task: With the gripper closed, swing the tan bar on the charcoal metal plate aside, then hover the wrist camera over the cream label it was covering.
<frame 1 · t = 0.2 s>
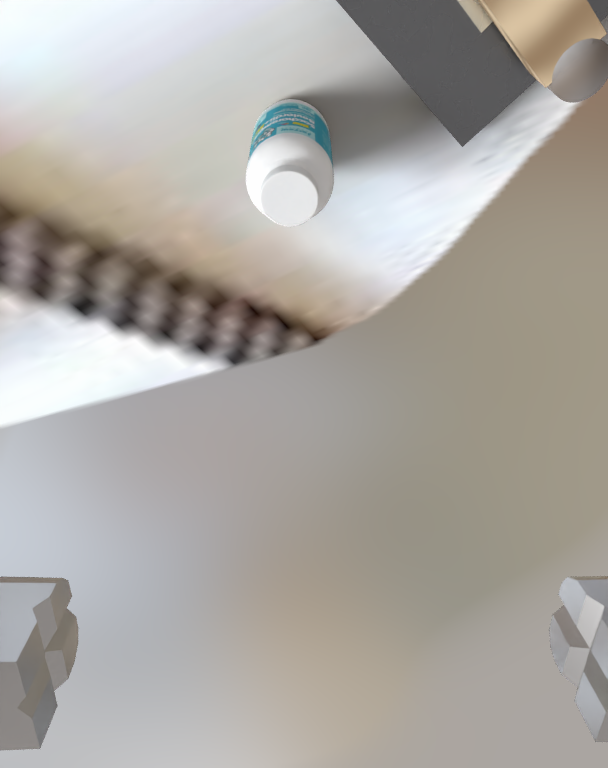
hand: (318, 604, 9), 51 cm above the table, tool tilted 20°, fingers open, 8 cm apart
pill bottle: (291, 137, 54), on the table
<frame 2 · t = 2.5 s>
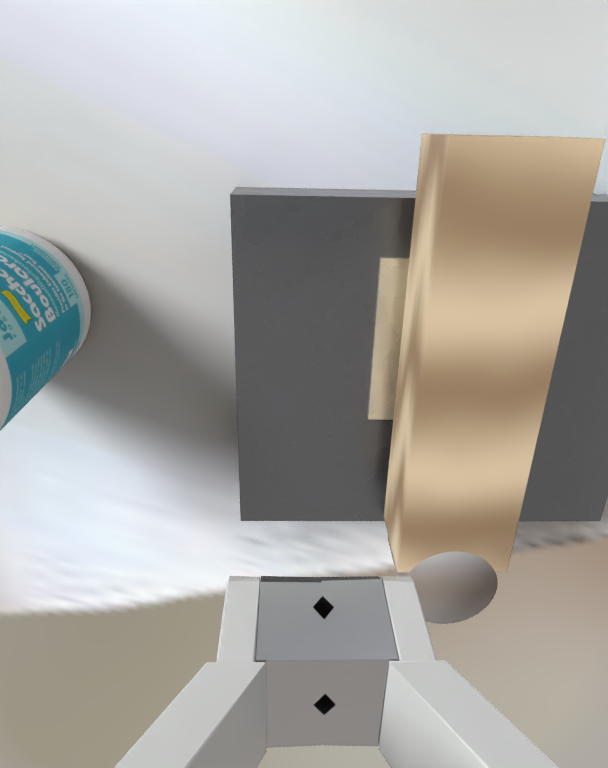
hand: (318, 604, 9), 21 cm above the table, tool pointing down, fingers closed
panel: (427, 357, 30), on the table
pill bottle: (22, 296, 28), on the table
tan bar: (462, 406, 24), point 6 cm above the table, hinge at 0.0°
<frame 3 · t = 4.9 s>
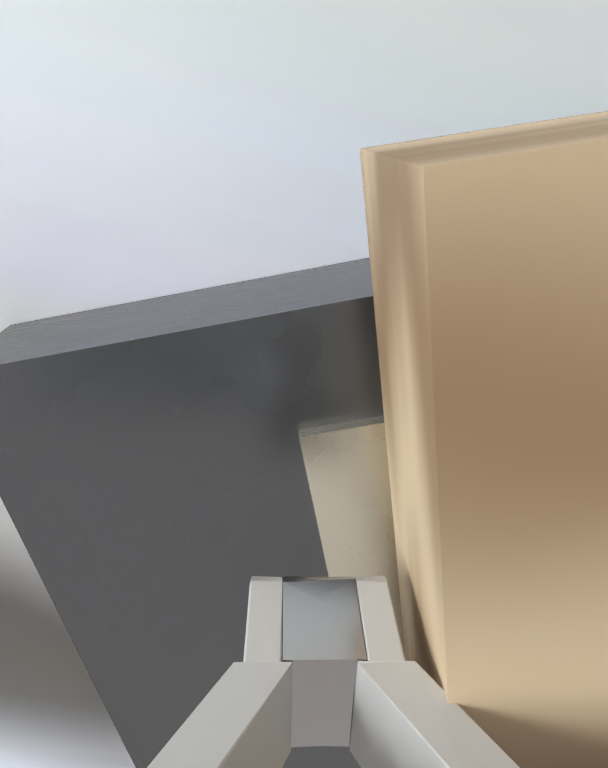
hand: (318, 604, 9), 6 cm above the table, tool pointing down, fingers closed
panel: (451, 534, 16), on the table
tan bar: (562, 748, 10), point 6 cm above the table, hinge at -2.4°, touching gripper
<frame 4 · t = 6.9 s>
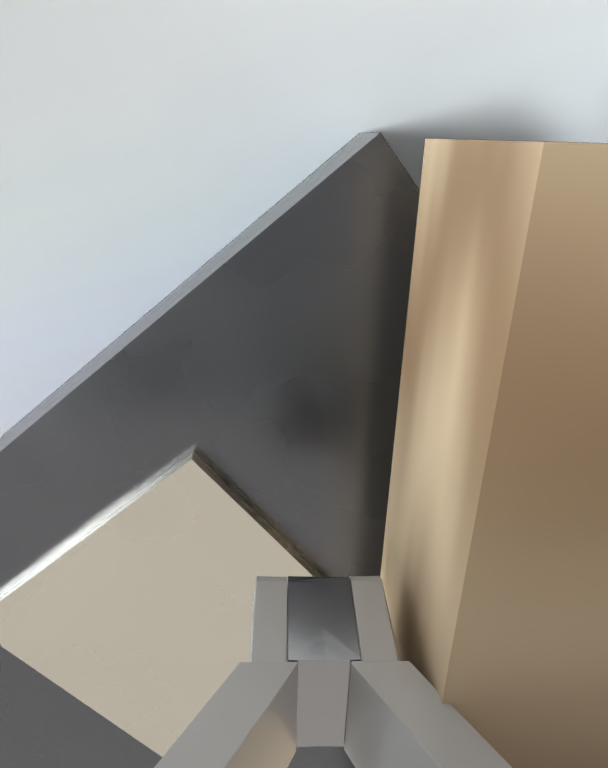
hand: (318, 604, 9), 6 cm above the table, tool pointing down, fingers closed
panel: (260, 594, 17), on the table
tan bar: (518, 764, 10), point 7 cm above the table, hinge at -40.0°, touching gripper
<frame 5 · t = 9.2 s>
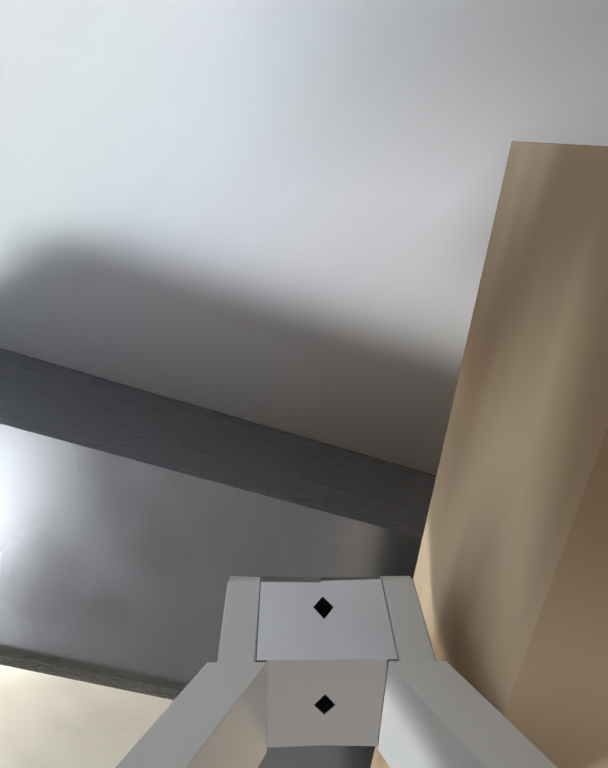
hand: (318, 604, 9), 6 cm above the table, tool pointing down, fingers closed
panel: (183, 679, 19), on the table
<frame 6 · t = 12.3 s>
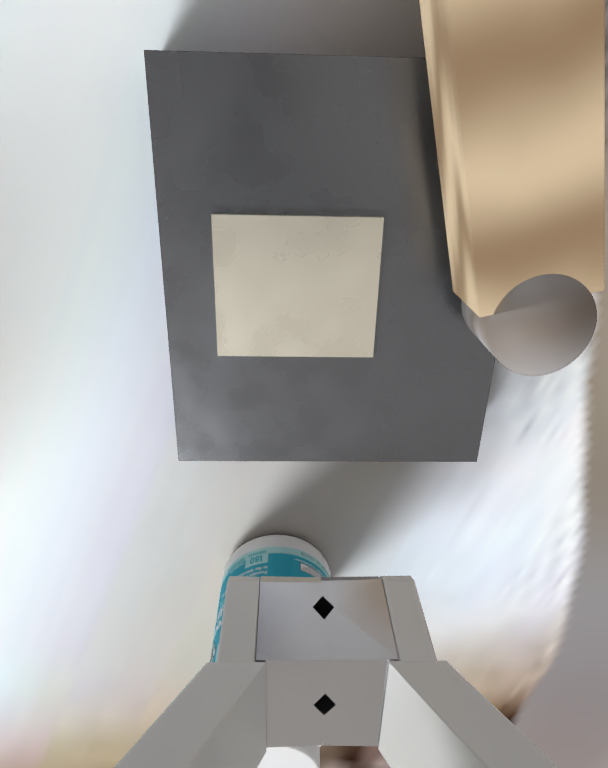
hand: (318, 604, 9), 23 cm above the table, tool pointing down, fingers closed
panel: (332, 274, 30), on the table
pill bottle: (276, 569, 39), on the table
tan bar: (511, 105, 21), point 6 cm above the table, hinge at -76.0°
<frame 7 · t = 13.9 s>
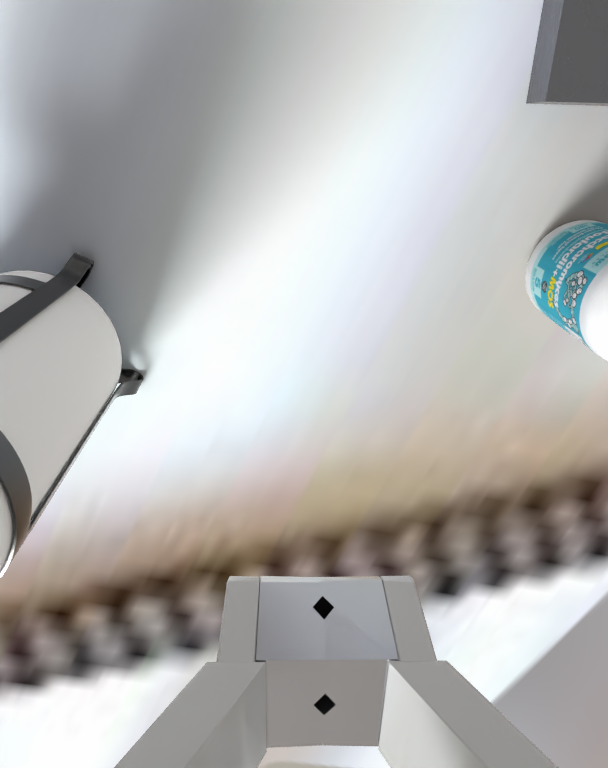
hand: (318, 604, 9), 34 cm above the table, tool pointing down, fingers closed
coffee press: (41, 324, 43), on the table
pill bottle: (568, 268, 42), on the table
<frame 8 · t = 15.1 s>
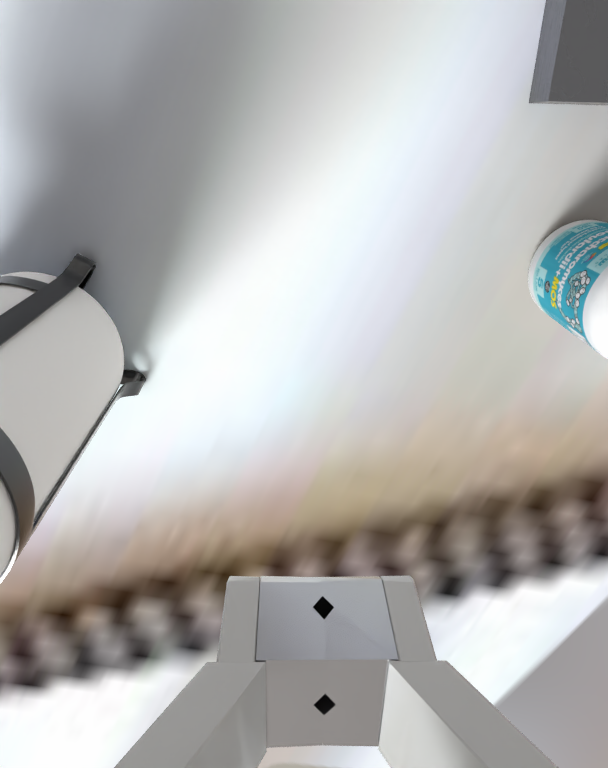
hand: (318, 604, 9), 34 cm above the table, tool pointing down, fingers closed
coffee press: (43, 325, 43), on the table
pill bottle: (571, 268, 42), on the table
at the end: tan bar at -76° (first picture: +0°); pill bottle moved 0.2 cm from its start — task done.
